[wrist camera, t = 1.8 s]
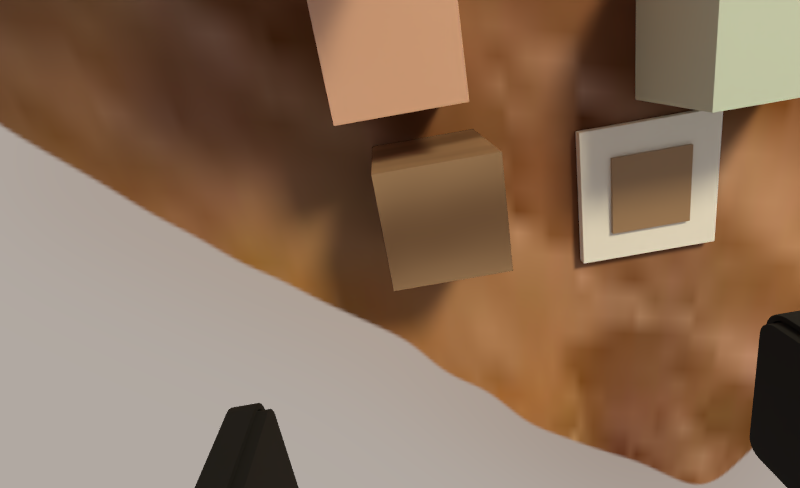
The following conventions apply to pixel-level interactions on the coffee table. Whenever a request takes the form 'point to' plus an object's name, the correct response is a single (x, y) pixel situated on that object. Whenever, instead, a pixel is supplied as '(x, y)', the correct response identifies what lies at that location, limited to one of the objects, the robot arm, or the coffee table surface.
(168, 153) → the coffee table surface
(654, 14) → the sage base block
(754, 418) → the robot arm
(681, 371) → the coffee table surface
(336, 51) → the terracotta block
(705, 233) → the tile
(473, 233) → the walnut block
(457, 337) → the coffee table surface
